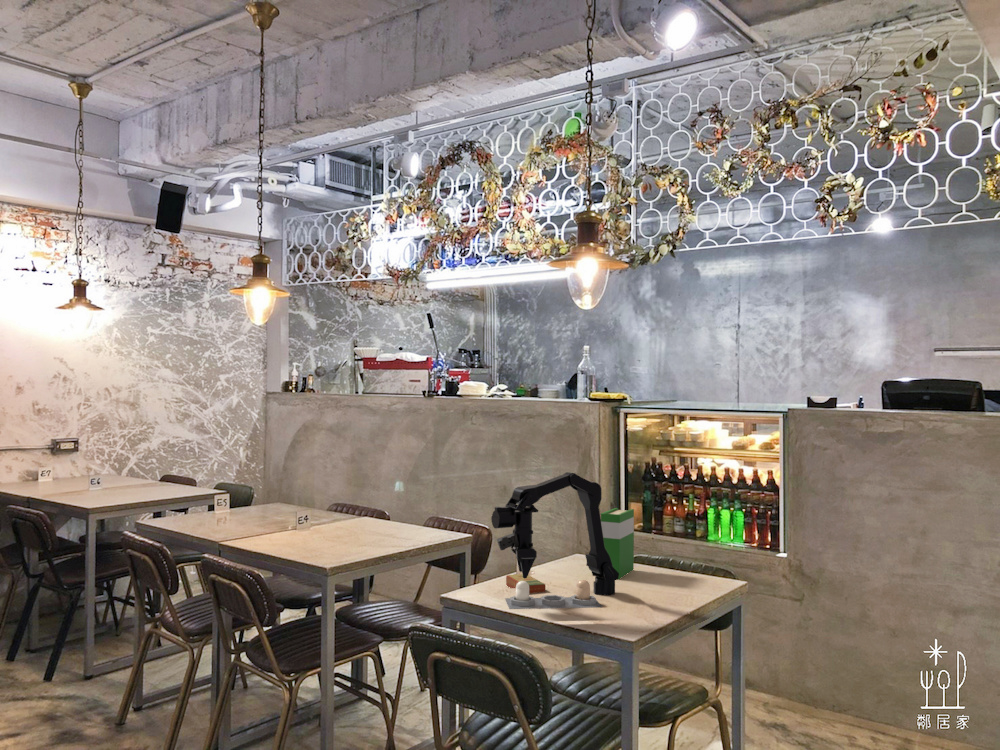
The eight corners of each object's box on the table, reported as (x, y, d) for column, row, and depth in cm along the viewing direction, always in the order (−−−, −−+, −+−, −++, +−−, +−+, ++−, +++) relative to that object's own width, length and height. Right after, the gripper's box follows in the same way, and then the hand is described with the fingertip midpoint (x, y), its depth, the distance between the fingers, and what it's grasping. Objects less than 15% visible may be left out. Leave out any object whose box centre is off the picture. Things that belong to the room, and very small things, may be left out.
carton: (526, 585, 283) (526, 573, 283) (546, 595, 268) (546, 583, 268) (505, 586, 279) (505, 574, 279) (524, 597, 265) (524, 585, 265)
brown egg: (588, 600, 257) (588, 578, 257) (591, 603, 252) (591, 581, 253) (575, 600, 256) (575, 578, 257) (577, 604, 252) (577, 581, 252)
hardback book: (615, 568, 310) (615, 507, 311) (633, 570, 307) (633, 509, 307) (600, 577, 294) (600, 513, 295) (619, 579, 291) (619, 515, 292)
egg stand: (593, 599, 261) (593, 592, 261) (602, 610, 248) (602, 602, 248) (504, 601, 258) (504, 593, 258) (509, 612, 245) (509, 604, 245)
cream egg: (528, 601, 255) (528, 579, 255) (530, 604, 250) (530, 582, 250) (514, 601, 254) (515, 579, 254) (516, 605, 250) (516, 582, 250)
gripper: (495, 522, 261) (495, 568, 261) (501, 531, 243) (501, 582, 242) (528, 521, 263) (528, 568, 262) (537, 531, 244) (536, 581, 244)
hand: (522, 574), depth 253 cm, fingers open, 9 cm apart
